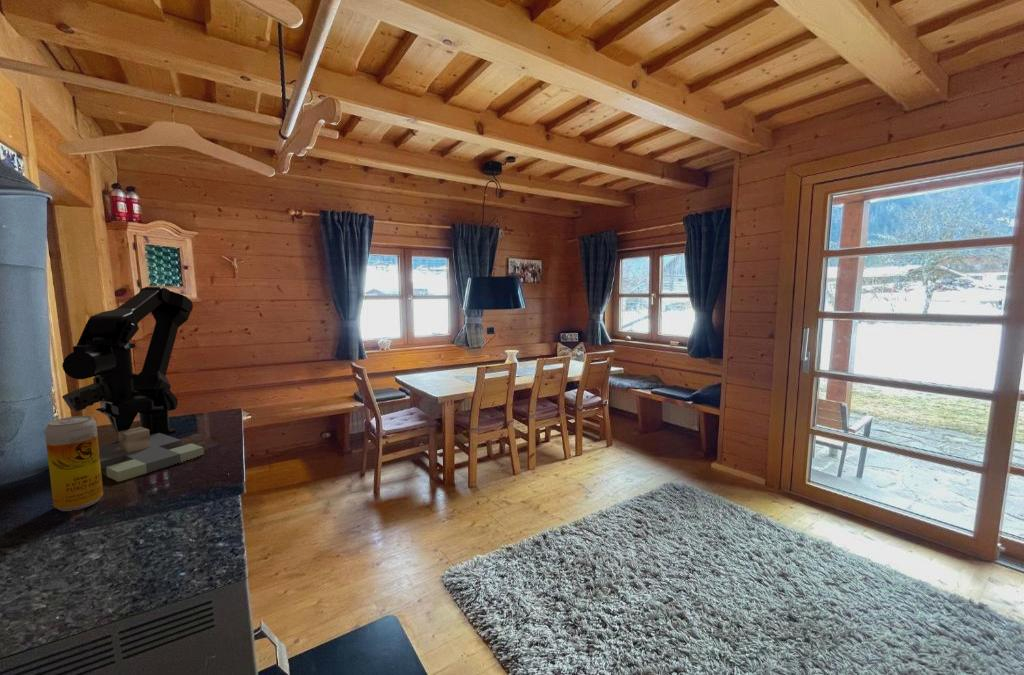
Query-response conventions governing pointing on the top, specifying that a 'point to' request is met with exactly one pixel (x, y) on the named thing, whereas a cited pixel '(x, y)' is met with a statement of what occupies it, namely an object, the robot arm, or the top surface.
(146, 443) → the block
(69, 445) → the beer can
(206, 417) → the top surface
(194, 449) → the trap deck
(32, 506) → the top surface
